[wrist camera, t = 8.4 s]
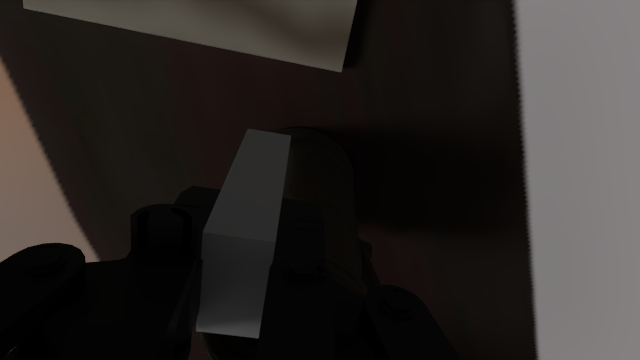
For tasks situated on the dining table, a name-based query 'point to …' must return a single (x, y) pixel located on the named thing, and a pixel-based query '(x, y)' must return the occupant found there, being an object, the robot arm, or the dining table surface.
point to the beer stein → (339, 224)
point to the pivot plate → (229, 24)
